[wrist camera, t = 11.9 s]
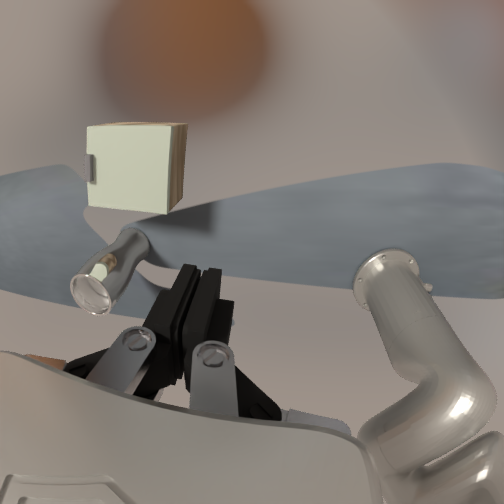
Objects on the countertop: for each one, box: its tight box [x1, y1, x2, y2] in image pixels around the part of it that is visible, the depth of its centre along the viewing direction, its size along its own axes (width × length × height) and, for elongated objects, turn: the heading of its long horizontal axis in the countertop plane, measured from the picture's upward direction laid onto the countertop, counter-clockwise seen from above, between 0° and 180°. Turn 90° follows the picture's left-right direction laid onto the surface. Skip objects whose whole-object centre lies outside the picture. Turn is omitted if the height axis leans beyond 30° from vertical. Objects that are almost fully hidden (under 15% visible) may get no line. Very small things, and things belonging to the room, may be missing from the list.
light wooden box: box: [95, 122, 188, 211], centre depth 35 cm, size 12×11×6 cm
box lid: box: [84, 125, 174, 215], centre depth 32 cm, size 12×11×2 cm
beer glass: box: [70, 228, 150, 316], centre depth 38 cm, size 7×7×15 cm
